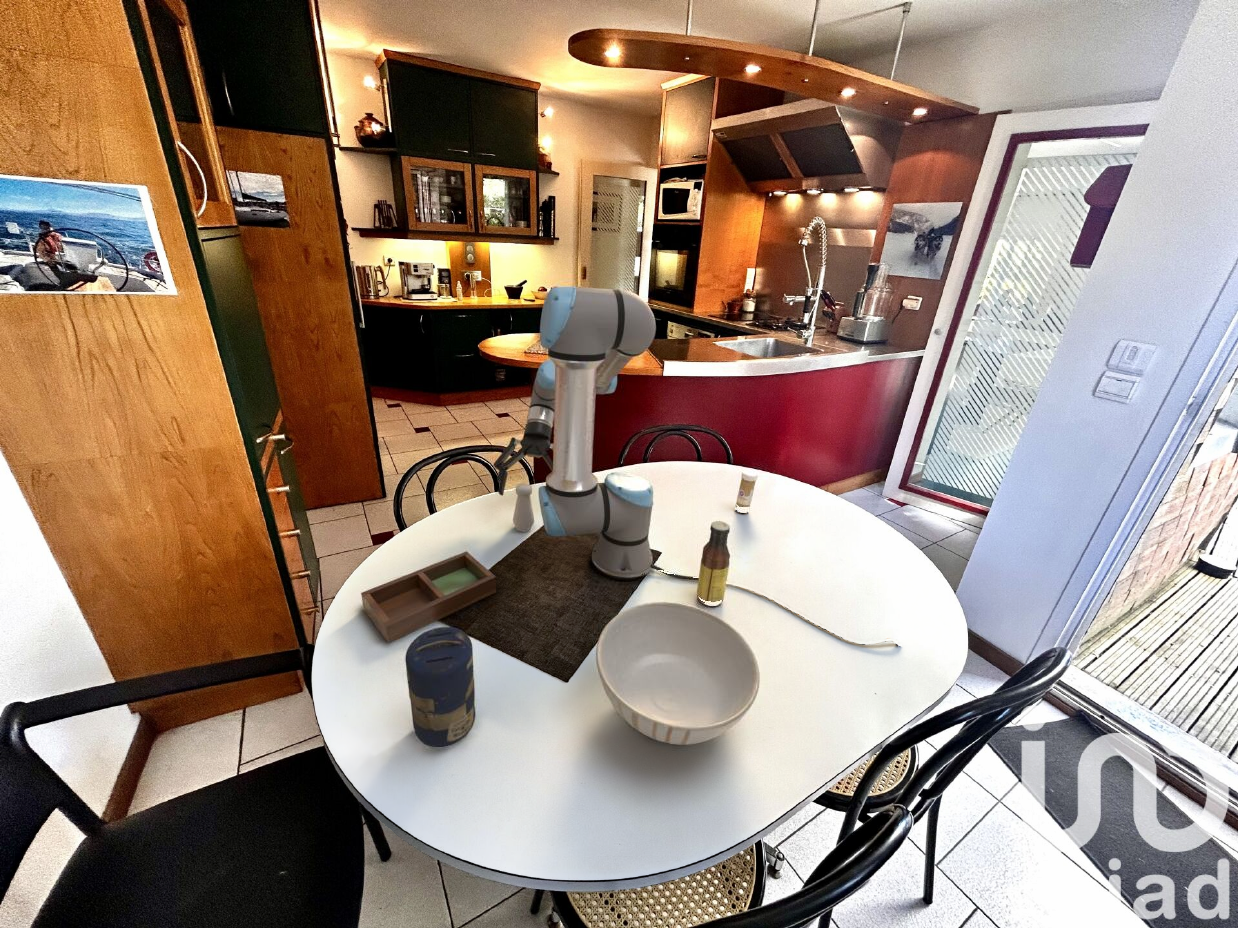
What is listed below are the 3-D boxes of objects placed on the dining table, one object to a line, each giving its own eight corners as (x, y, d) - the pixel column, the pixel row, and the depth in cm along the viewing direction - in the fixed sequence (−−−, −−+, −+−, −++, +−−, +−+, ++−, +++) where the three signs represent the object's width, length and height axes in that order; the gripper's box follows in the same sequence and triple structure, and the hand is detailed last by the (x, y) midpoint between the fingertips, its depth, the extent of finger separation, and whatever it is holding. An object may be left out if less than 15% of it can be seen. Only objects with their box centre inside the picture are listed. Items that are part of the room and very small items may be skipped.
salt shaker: (529, 535, 131) (530, 492, 126) (509, 531, 132) (509, 488, 126) (537, 524, 136) (538, 482, 131) (517, 520, 137) (517, 479, 132)
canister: (423, 699, 83) (414, 617, 76) (481, 699, 84) (477, 617, 77) (406, 753, 74) (393, 666, 67) (470, 752, 75) (464, 666, 68)
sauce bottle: (725, 596, 115) (741, 523, 106) (718, 612, 109) (734, 536, 101) (698, 586, 117) (712, 515, 109) (690, 602, 112) (704, 527, 104)
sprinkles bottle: (731, 510, 153) (739, 472, 147) (738, 505, 156) (746, 467, 150) (745, 516, 150) (754, 477, 145) (751, 511, 153) (760, 472, 148)
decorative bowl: (630, 811, 70) (639, 755, 65) (571, 669, 92) (574, 619, 87) (778, 750, 80) (796, 697, 75) (693, 635, 102) (702, 589, 97)
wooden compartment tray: (496, 592, 109) (495, 576, 108) (388, 643, 93) (386, 626, 92) (467, 565, 117) (466, 550, 115) (363, 609, 101) (360, 592, 99)
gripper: (583, 436, 142) (572, 506, 135) (499, 426, 144) (483, 495, 136) (581, 425, 135) (569, 498, 128) (493, 415, 137) (476, 487, 129)
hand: (525, 497), depth 132 cm, fingers open, 13 cm apart
